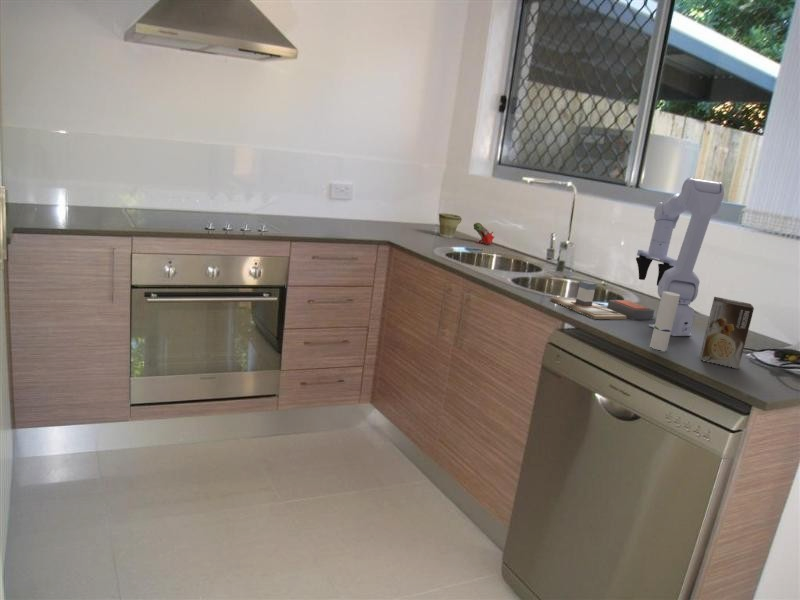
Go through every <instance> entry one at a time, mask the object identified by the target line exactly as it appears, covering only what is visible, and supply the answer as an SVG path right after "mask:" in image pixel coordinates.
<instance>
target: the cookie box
mask: <svg viewBox="0 0 800 600" xmlns="http://www.w3.org/2000/svg"><path fill="white" fill-rule="evenodd" d="M711 305H712V306H711V307H710V308H711V309H710V313H709V317H708V320H707V324H706V329H705V332H704V336H703V341H702V344H701V348H700V352H699V357H700V361H701V360H705V361H709V362H713V363H716V364H715V365H718V364H720V365H719V366H722V365H724V366H723V367H727V366H728V368H731V367H732V369H737V370H739V368H740V365H741V360H742V356H743V353H744V348H745V345H746V341H747V338H748V334H749V330H750V326H751V321H752V317H753V314H754V310H755V308H754V306H753V305H752V304H751V303H747V302H745V301H744V302H742V301H738V300H732V299H728V298H723V297H719V296H713V300H712V303H711ZM709 362H708V363H709ZM713 363H712V364H713Z"/></svg>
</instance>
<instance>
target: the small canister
mask: <svg viewBox="0 0 800 600" xmlns="http://www.w3.org/2000/svg"><path fill="white" fill-rule="evenodd" d="M596 289H597V283H593V281H588V280H587V281H586V280H579V285H578V290H577V295H576V298H577V299H576V303H577V304H579V305H582V306H592V302H594V301H593V300H594V295H595V290H596Z"/></svg>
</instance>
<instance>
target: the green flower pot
mask: <svg viewBox="0 0 800 600" xmlns="http://www.w3.org/2000/svg"><path fill="white" fill-rule="evenodd" d="M438 223H439V236H440V237H443V238H448V239H449V238H450V239H453V238H454V237H455V234H456V230H457V227H458V226H459V224H460V223H462V217H461V216H460V215H458V214H453V213H445V212H444V213H443V212H440V213H438Z"/></svg>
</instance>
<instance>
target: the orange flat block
mask: <svg viewBox="0 0 800 600" xmlns="http://www.w3.org/2000/svg"><path fill="white" fill-rule="evenodd" d="M614 300H615V302H617V303H620V304H622V305H625V306H627V307H630V308H633V309H635V310H649V309H650V308H649V307H646V306H643V305H641V304H639V303H636V302H634V301H631V300H628V299H614Z"/></svg>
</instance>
